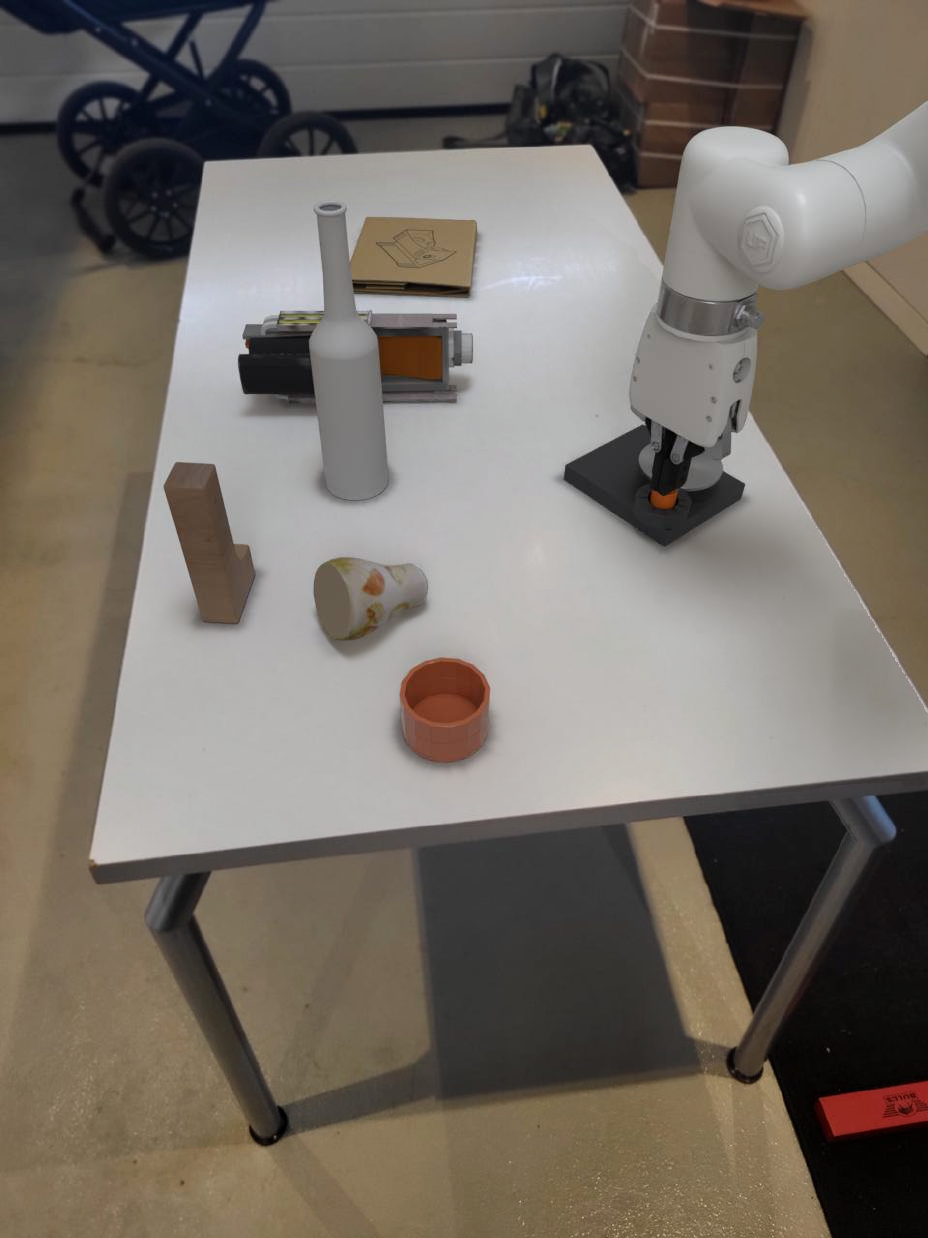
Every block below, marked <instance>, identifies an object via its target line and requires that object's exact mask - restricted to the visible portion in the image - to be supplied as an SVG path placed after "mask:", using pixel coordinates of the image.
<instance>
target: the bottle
mask: <svg viewBox="0 0 928 1238" xmlns="http://www.w3.org/2000/svg"><path fill="white" fill-rule="evenodd" d="M347 211H348V205H347V204H346V203H345V202H343V201H340V200H336V199H327V200H321V201H318V202H317V203H315V204H314V206H313V212H314V214H316V222H317V231H318V232H317V233H318V241H319V251H320V260H321V271H322V288H323V290H322V291H323V292H322V293H323V311H324V316H323V318H322V320H321V321H320V323H319V324H318V325H317V326H316V328H315V329H314V331H313V333H312V335H311V337H310V339H309V348H310V357H311V365H312V374H313V382H314V390H315V399H316V403H315V406H316V414H317V423H318V424H317V425H318V432H319V439H320V448H321V457H322V464H323V465H322V466H323V473H324V481H325V487H326V489H327V491H328V492H329V493H330V494H331V495H333V496H334V497H337V498H338V499H342V500H347V501H363V500H368V499H371V498H373V497H376V496H378V495H380V494H381V493H382V492H384V490H386V488H387V487H388V484H389V468H388V451H387V437H386V427H385V414H384V413H385V411H384V401H383V399H382V386H381V373H380V360H379V348H378V339H377V335H376V334H375V332H374V331H373V329H372V328H371V327H370V326H369V325H368V324H367V323H366V322H365V321H364V320H363V319H362V318H361V317H360V316H359V315H358V313H357V311H358V310H357V305H356V298H355V293H354V291H353V284H352V278H351V269H350V261H351V258H350V250H349V239H348V230H347V229H348V228H347V219H346V212H347Z"/></svg>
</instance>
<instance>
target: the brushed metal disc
mask: <svg viewBox="0 0 928 1238" xmlns="http://www.w3.org/2000/svg"><path fill="white" fill-rule="evenodd" d="M654 457H655V452H654V451H653V450H652V448H651V444H649V445H647V446H646V447H645V448H644V449H643V450H642V451H641V453H640V455H639V459H638V465H639V468H640V470H641V472H642V473H643V474H644V476H645V477H647V478H648V479H649V480H650V481H651V479H652V467H653V462H654ZM723 471H724V464H723V462H722V460H720V461H718V460H714V459H711V458H707V457H704V455H698V456H695V457H693V458H692V460H691V464H690V469H689V473H688V477H687V481H686V483H685V484H684V485H683V486H682V487H681V488H679V489H678V491H698V490H703V489H706V488H709V487H711V486H713V485H714V484H716V483H717V482H718V481H719V479H720V478H721V476H722V473H723Z"/></svg>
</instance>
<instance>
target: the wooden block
mask: <svg viewBox="0 0 928 1238" xmlns="http://www.w3.org/2000/svg"><path fill="white" fill-rule="evenodd" d="M162 488H163V490H164V494H165V497H166V501H167V504H168V508H169V511H170V513H171V517H172V522H173V524H174V525H173V526H174V527H175V531H176V534H177V538H178V542H179V545H180V548H181V551H182V555H183V558H184V563H185V565H186V569H187V572H188V575H189V580H190V582H191V586H192V589H193V592H194V597H195V599H196V603H197V606H198V609H199V614H200V616H201V620H202V621H203V622H208V623H211V622H212V623H222V624H223V623H225V624H238V623H239V622H240V618H241V616H242V613H243V611H244V608H245V605H246V602H247V599H248V596H249V593H250V590H251V587H252V585H253V583H254V579H255V576H256V571H255V566H254V561H253V557H252V553H251V548H250V545H249V544H244V543H242V544H241V543H234V539H233V535H232V530H231V526H230V523H229V518H228V514H227V510H226V504H225V501H224V497H223V492H222V488H221V484H220V479H219V475H218V471H217V467H216V464H215V463H204V462H203V463H202V462H185V461H176V462H174V464H173V466H172V468H171V470H170V472H169V474H168V476H167V478H166V480H165V481H164V484H163V487H162Z"/></svg>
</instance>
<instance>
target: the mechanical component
mask: <svg viewBox="0 0 928 1238" xmlns="http://www.w3.org/2000/svg"><path fill="white" fill-rule="evenodd" d="M357 313H358V315H359V316H360V317H361V318H362V319H363V320H364V321H365V322H366V323H367V324H368V325H369V326H370V327H371V328H372V329H373V331H374V332H375V334H376V335H377V339H378V348H379V360H380V373H381V386H382V399H383V402H389V401H390V402H393V401H394V402H407V401H408V402H409V401H410V402H412V401H413V402H415V401H416V402H420V401H421V402H423V401H424V402H426V401H427V402H429V401H431V402H432V401H458V394H457V393H454V394H453V393H452V394H451V393H449V394H442V393H439V394H437V393H436V394H435V392H457V389H458V387H457V385H455V384H454V385H453V384H451V385H450V368H451V369H452V368H455V367H462V364H473V362H474V335H473V333H472V332H471V333H469V332H463V331H462V330H455V329H458V322H456V321H455V320H458V314H457V313H373V310H372V309H369V310H357ZM323 316H324V310H280V311H279V314H273V315H268V316H266V317H264V319H263V322H262V323H245V326H244V330H243V332H242V335H241V337H242V340H244V341H245V342H244V345H245V349H247V350H248V353H238V356H237V370H238V375H239V380H240V386H241V390H242V393H243V394H244V395H272V396H273V397H275V398H277V399H280V400H287V402H288V404H316V399H315V390H314V382H313V374H312V365H311V357H310V348H309V339H310V337H311V335H312V333H313V331H314V329H315V328H316V326H317V325H318V324H319V323H320V321H321V320H322V318H323ZM447 320H448V321H447ZM449 320H454V321H455V322H449Z"/></svg>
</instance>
